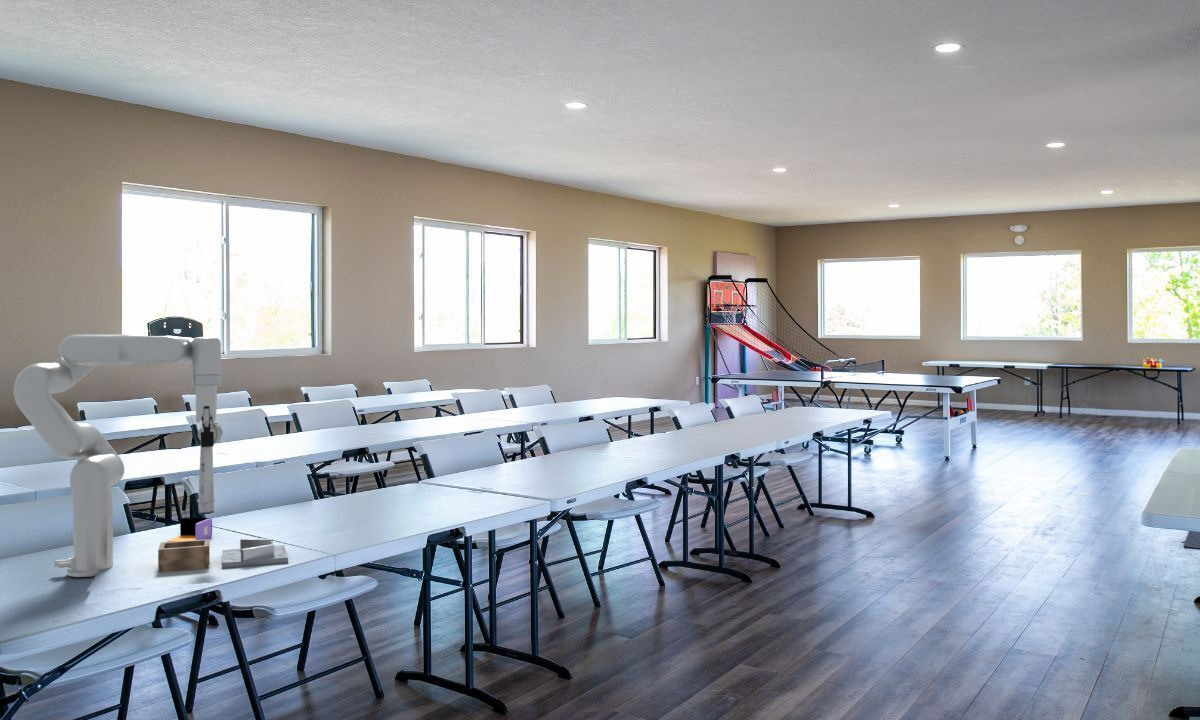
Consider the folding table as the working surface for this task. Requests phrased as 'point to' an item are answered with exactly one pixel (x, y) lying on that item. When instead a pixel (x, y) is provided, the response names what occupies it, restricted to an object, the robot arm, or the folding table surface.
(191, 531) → the dollhouse room
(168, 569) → the open wooden box
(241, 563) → the v block
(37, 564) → the folding table surface
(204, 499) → the handheld massager
